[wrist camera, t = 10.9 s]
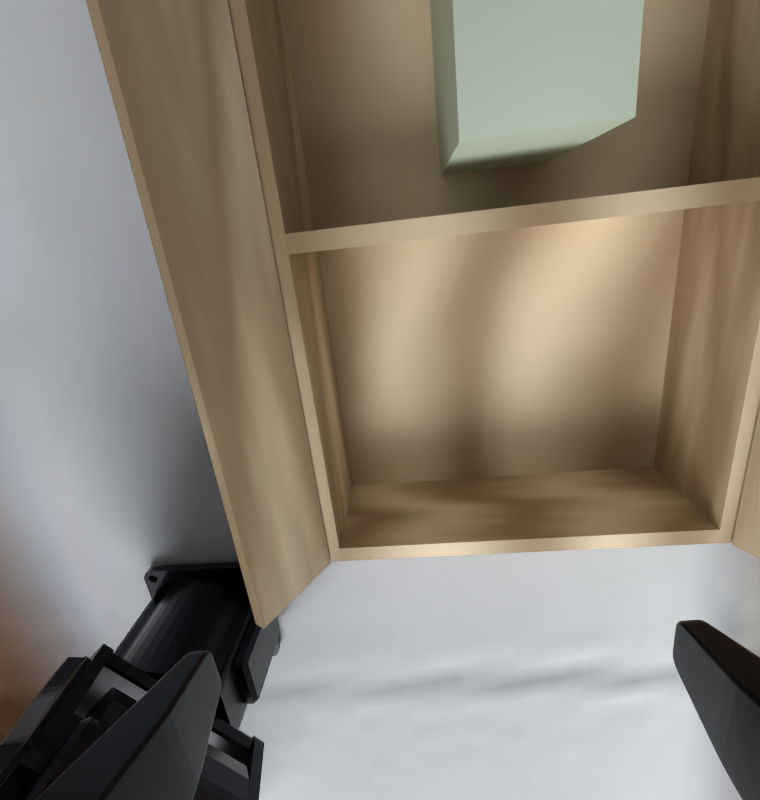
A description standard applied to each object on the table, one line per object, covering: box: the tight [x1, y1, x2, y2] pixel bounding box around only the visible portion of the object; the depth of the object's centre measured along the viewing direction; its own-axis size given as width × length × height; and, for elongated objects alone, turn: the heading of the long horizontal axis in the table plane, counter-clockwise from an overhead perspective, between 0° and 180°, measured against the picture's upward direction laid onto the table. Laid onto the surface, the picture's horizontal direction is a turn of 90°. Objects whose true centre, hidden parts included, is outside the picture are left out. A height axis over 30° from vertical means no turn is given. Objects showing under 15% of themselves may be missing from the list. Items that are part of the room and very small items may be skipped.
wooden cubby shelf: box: [86, 0, 760, 629], centre depth 14 cm, size 19×24×8 cm
